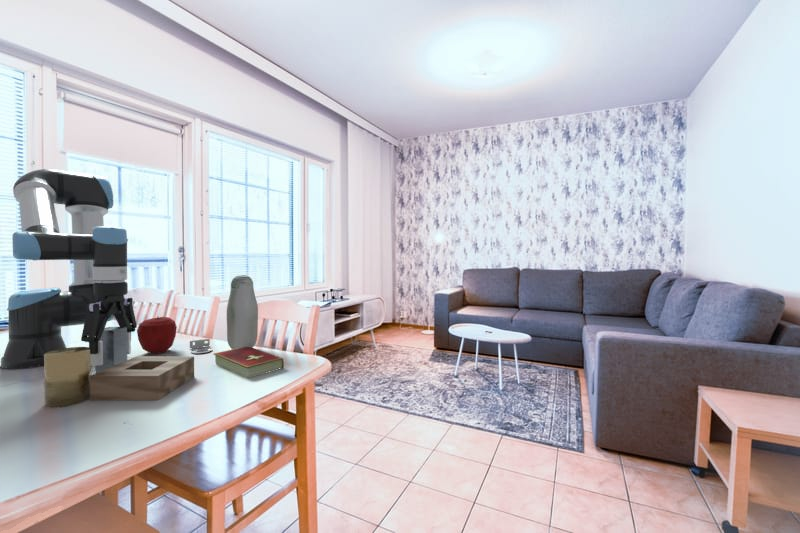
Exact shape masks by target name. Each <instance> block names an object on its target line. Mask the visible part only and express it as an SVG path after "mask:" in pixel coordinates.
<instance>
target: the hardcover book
mask: <svg viewBox="0 0 800 533" xmlns="http://www.w3.org/2000/svg"><path fill="white" fill-rule="evenodd" d="M213 356H214V357H215V363H216V364H215V363H214V364H215V365H217V366H219V365H220V367H221V366H222V367H221V368H223V367H224V368H223V369H226V370H228V371H230V372H232V371H233V372H232V373H234V374H237V375H239V376H241V375H242V376H241V377H243V376H244V378H246V379H250V378H254V377H257V375H258V376H261V375H260V374H262V375H264V374H263V373H265V374H267V373H266V372H269V371H272V372H274V371H273V370H276V369H279V368H283V369H284V367H285V366H284V365H285V364H284V363H285V361H284V358H283V357H281V356H278V355H275V354H272V353H269V352H265V351H263V350H259V349H257V348H254V347H253V348H251V347H248V346H247V347H242V348H237V349H228V350H223V351H219V352H214V353H213ZM279 370H280V369H279ZM276 371H277V370H276ZM269 373H270V372H269ZM253 376H254V377H253Z"/></svg>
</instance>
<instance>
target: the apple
mask: <svg viewBox="0 0 800 533" xmlns="http://www.w3.org/2000/svg"><path fill="white" fill-rule="evenodd" d="M177 328H178V326H177V324H176V321H175V320H174V319H173V318H171V317H168V316H160V317H159V316H157V317H153V318H148V319H144V320H143V321H142V322H141V323H139V325H138V326H137V328H136V333H137V340H138V341H139V342H138V343H139V344H140V346H141V349H142V350H144V351H145V352H147V353H149V354H153V355H155V354H156V355H157V354H158V355H159V354H163V353H166V352H168V350H169V349H170V348H172V346H173V344H174V341H175V339H176V334H177Z"/></svg>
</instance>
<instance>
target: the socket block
mask: <svg viewBox="0 0 800 533" xmlns="http://www.w3.org/2000/svg"><path fill="white" fill-rule="evenodd" d="M193 378H195V356H194V355H193V356H187V355H186V356H175V355H174V356H170V355H169V356H165V355H161V356H160V355H159V356H156V355H155V356H154V355H153V356H150V355H149V356H147V355H144V356H140V355H139V356H138V355H137V356H134V357H132V358H130V359H127V361H125V362H122V363H120V364H117V365H115V366H112V367H110V368H108V369H105V370H103V371H100V372H98V373H96V372H95V373H94V374H92V375H91V376H90V398H89V400H90V401H159V400H161V399H162V398H164V397H166V396H167V395H168V394H170V393H172V392H173V391H175V390H176V389H178V388H180V387H181V386H182V385H184V384H185V383H187V382H189V381H190V380H192V379H193Z"/></svg>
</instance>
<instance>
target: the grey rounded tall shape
mask: <svg viewBox="0 0 800 533" xmlns="http://www.w3.org/2000/svg"><path fill="white" fill-rule="evenodd" d="M254 289H255V288H254V281H253V279H252V278H251V277H250V276H249V275H244V274H242V275H241V274H239V275H236V276H234V277H233V278H232V279H231V283H230V293H229V297H228V302H227V306H226V338H227V340H226V341H227V344H228V346H229V347H230V350H232V349H237V348H242V347H247V346H248V347H251V348H254V347H255V345H256V343H257V341H258V333H259V331H258V330H259V329H258V324H259V323H258V321H259V305H258V301H257V297H256V294H255V290H254Z"/></svg>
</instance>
